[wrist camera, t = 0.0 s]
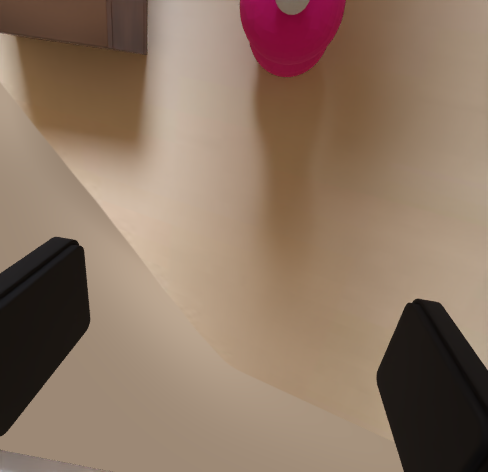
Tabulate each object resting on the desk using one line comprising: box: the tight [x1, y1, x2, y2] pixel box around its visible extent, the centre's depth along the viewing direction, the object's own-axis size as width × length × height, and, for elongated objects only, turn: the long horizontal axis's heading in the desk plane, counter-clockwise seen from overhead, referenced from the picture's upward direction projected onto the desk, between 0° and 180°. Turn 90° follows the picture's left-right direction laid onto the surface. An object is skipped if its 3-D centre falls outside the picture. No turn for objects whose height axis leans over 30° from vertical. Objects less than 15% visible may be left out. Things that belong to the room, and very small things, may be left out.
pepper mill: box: [240, 0, 346, 77], centre depth 24 cm, size 7×7×20 cm
